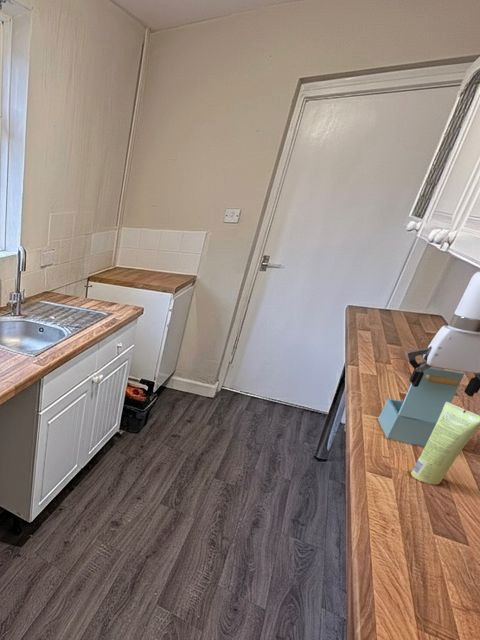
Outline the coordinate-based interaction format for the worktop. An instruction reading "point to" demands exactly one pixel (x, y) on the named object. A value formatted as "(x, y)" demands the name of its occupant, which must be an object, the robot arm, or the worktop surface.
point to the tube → (445, 443)
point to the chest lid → (431, 394)
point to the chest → (404, 425)
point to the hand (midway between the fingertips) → (440, 389)
